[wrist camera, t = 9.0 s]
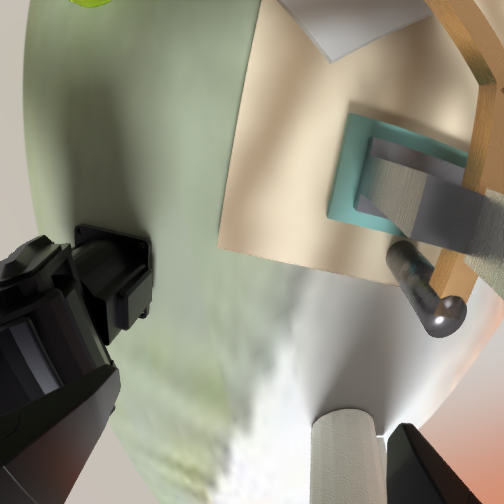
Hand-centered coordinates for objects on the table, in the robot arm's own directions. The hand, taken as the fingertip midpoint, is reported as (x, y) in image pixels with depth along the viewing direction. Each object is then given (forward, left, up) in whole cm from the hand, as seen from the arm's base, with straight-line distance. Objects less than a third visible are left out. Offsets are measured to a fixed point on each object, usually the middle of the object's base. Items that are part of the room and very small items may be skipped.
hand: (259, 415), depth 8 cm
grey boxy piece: (+7, +6, -11) cm, 15 cm away
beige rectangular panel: (+4, +12, -13) cm, 18 cm away
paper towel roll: (+10, -16, -13) cm, 23 cm away
